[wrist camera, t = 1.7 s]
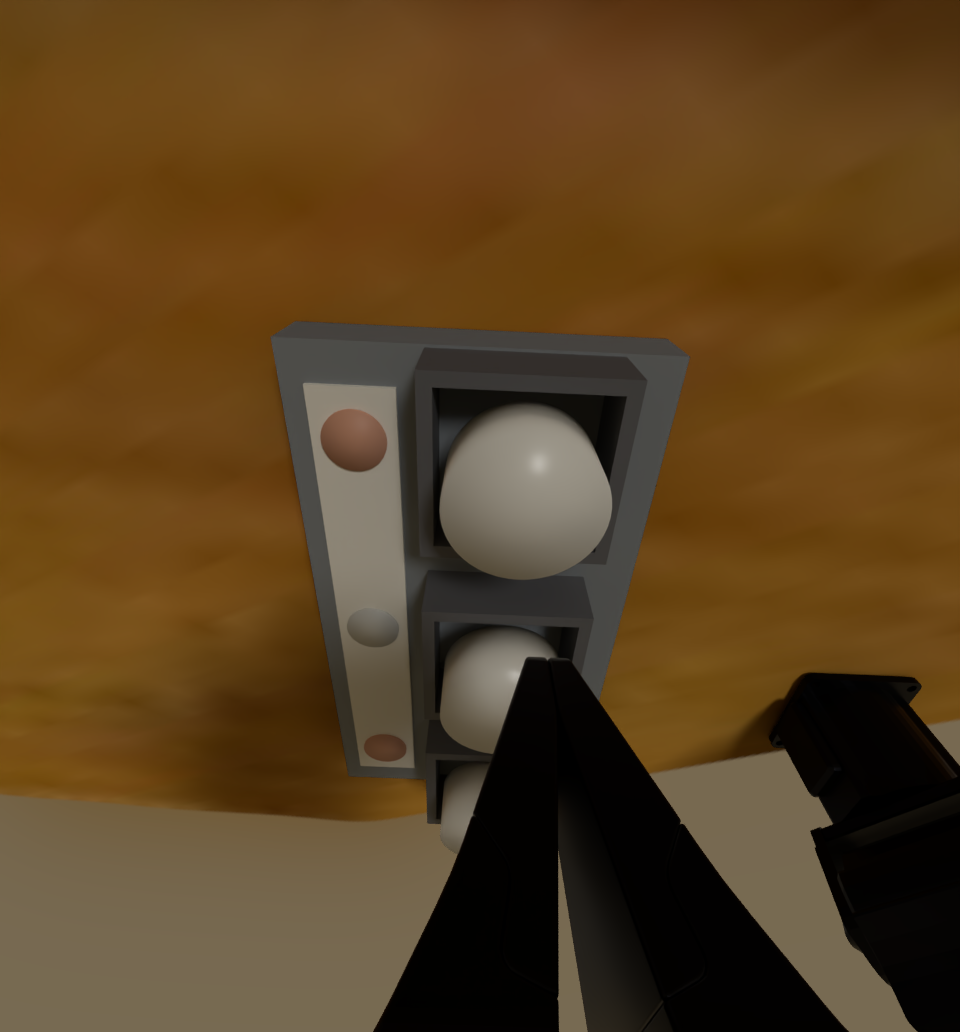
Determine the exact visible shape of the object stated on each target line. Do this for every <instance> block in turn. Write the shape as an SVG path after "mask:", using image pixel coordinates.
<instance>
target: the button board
mask: <svg viewBox="0 0 960 1032" xmlns="http://www.w3.org/2000/svg"><path fill="white" fill-rule="evenodd" d="M271 341H272V347H273V352H274V358H275V364H276V369H277V375H278V381H279V386H280V392H281V397H282V403H283V409H284V414H285V420H286V426H287V431H288V437H289V443H290V448H291V454H292V459H293V465H294V471H295V476H296V482H297V488H298V493H299V499H300V505H301V510H302V516H303V521H304V527H305V533H306V538H307V544H308V550H309V555H310V561H311V567H312V572H313V578H314V583H315V589H316V595H317V600H318V606H319V612H320V617H321V623H322V629H323V634H324V640H325V645H326V651H327V657H328V662H329V668H330V674H331V679H332V685H333V691H334V696H335V702H336V708H337V713H338V719H339V724H340V730H341V736H342V741H343V747H344V753H345V758H346V764H347V770H348V775H349V776H355V777H381V778H407V779H426V791H427V822H428V823H429V824H441V816H442V803H443V790H444V781H445V778H446V777H447V775H448V774H449V773H450V772H451V771H452V770H454V769H455V768H457V767H459V766H461V765H463V764H466V763H469V762H473V761H484V762H490V761H491V758H492V755H493V754H490V753H484V752H480V751H476V750H473V749H470V748H468V747H465V746H463V745H461V744H460V743H458V742H457V741H455V740H454V739H452V738H451V737H450V736H449V735H448V734H447V732H446V731H445V730H444V728H443V726H442V723H441V720H440V708H441V697H442V687H443V676H444V666H445V658H446V655H447V653H448V651H449V649H450V648H451V646H452V645H453V644H454V643H455V642H456V641H457V640H458V639H459V638H461V637H462V636H464V635H466V634H467V633H469V632H472V631H474V630H477V629H480V628H484V627H489V626H497V625H507V626H516V627H521V628H525V629H528V630H531V631H533V632H536V633H537V634H539V635H541V636H542V637H544V638H545V639H547V640H548V641H549V642H550V643H551V644H552V646H553V647H554V648H555V650H556V652H557V654H558V657H559V658H568V659H569V660H571V662H572V663H573V664H574V666H575V667H576V669H577V670H578V672H579V673H580V675H581V676H582V677H583V679H584V680H585V682H586V683H587V685H588V686H589V688H590V689H591V691H592V692H593V693H594V695H595V696H596V698H597V699H598V701H599V698H600V694H601V690H602V687H603V683H604V679H605V675H606V671H607V668H608V664H609V660H610V656H611V653H612V649H613V645H614V641H615V638H616V634H617V630H618V626H619V622H620V619H621V615H622V611H623V607H624V604H625V600H626V596H627V592H628V588H629V585H630V581H631V577H632V573H633V570H634V566H635V562H636V558H637V554H638V551H639V547H640V543H641V539H642V536H643V532H644V528H645V524H646V521H647V517H648V513H649V509H650V505H651V502H652V498H653V494H654V490H655V487H656V483H657V479H658V475H659V471H660V468H661V464H662V460H663V456H664V453H665V449H666V445H667V441H668V437H669V434H670V430H671V426H672V422H673V419H674V415H675V411H676V407H677V404H678V400H679V396H680V392H681V388H682V385H683V381H684V377H685V373H686V370H687V366H688V362H689V358H690V356H688V355H687V354H686V353H685V352H683V351H682V350H681V349H679V348H678V347H677V346H676V345H674V344H673V343H672V342H670V341H669V340H668V339H656V338H635V337H614V336H593V335H572V334H551V333H530V332H509V331H488V330H467V329H446V328H424V327H403V326H382V325H361V324H340V323H319V322H298V321H295V322H294V323H292V324H291V325H289V326H287V327H286V328H284V329H283V330H281V331H279V332H278V333H276V334H275V335H273V336H271ZM515 401H533V402H540V403H544V404H548V405H551V406H553V407H556V408H558V409H560V410H562V411H564V412H566V413H567V414H569V415H570V416H571V417H572V418H574V419H575V420H576V421H577V422H578V423H579V424H580V425H581V426H582V427H583V429H584V430H585V431H586V433H587V434H588V436H589V438H590V440H591V442H592V444H593V447H594V449H595V451H596V454H597V456H598V458H599V461H600V463H601V466H602V468H603V470H604V473H605V475H606V477H607V480H608V483H609V486H610V489H611V495H612V512H611V518H610V521H609V525H608V528H607V530H606V532H605V534H604V536H603V537H602V539H601V541H600V542H599V544H598V545H597V546H596V547H595V548H594V550H593V551H592V552H591V553H590V554H589V555H588V556H587V557H585V558H584V559H583V560H581V561H580V562H579V563H577V564H576V565H574V566H572V567H571V568H569V569H567V570H565V571H562V572H560V573H558V574H554V575H551V576H548V577H543V578H539V579H530V580H516V579H507V578H502V577H497V576H494V575H491V574H488V573H486V572H483V571H481V570H479V569H477V568H475V567H474V566H472V565H470V564H469V563H468V562H466V561H465V560H464V559H463V558H462V557H461V556H460V555H459V554H458V553H456V551H455V550H454V549H453V547H452V546H451V545H450V543H449V541H448V540H447V538H446V536H445V534H444V531H443V529H442V525H441V520H440V510H439V509H440V498H441V492H442V486H443V479H444V473H445V467H446V461H447V457H448V452H449V450H450V447H451V445H452V443H453V441H454V439H455V437H456V436H457V434H458V433H459V432H460V430H461V429H462V428H463V427H464V426H465V425H466V424H467V423H468V422H469V421H470V420H471V419H472V418H474V417H475V416H476V415H478V414H480V413H481V412H483V411H485V410H487V409H489V408H491V407H494V406H496V405H500V404H503V403H508V402H515Z"/></svg>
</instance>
